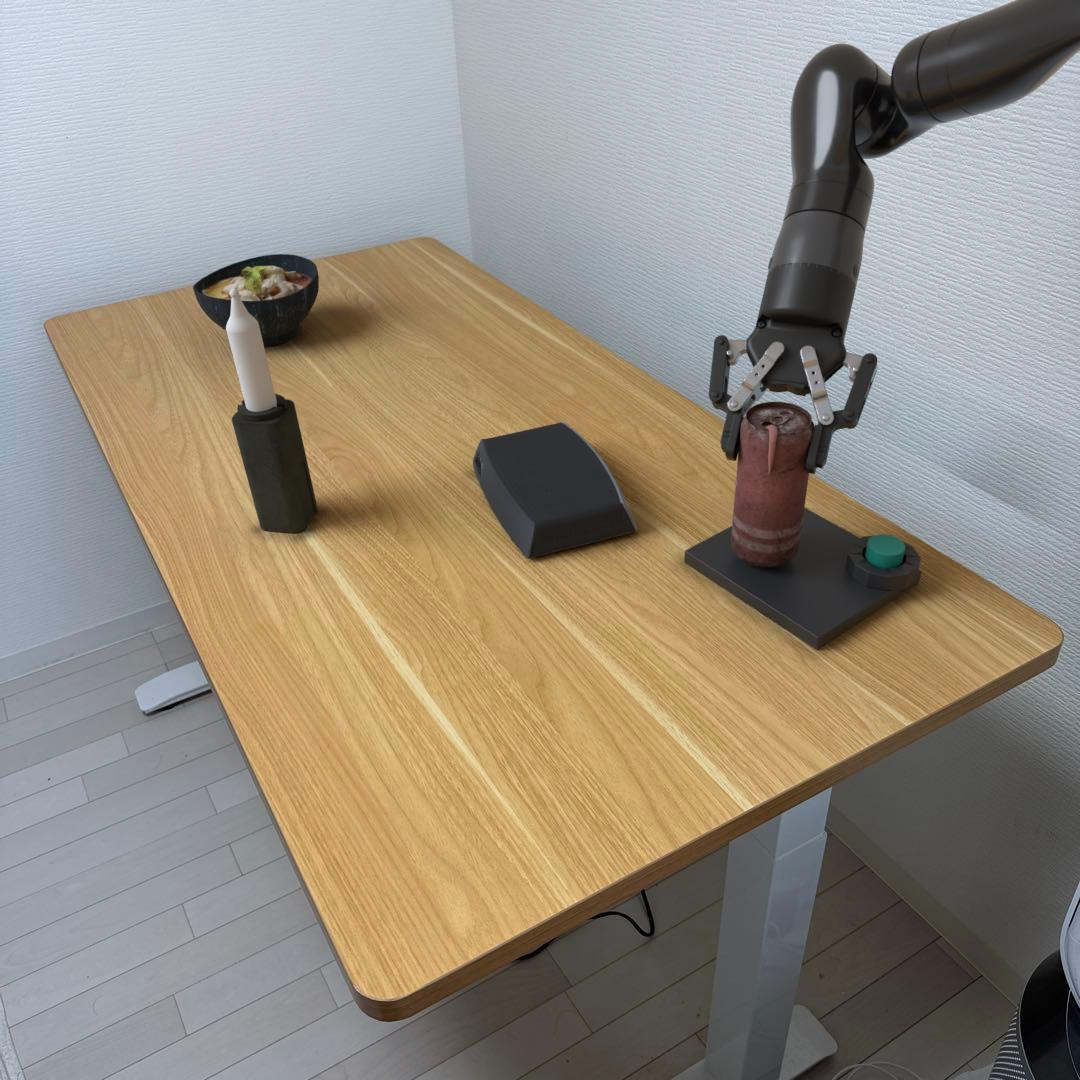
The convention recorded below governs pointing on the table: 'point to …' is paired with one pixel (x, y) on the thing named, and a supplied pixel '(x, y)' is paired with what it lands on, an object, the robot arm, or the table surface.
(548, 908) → the table surface
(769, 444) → the can
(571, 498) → the hard drive
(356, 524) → the table surface
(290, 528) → the candle
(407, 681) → the table surface
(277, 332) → the bowl
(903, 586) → the scale
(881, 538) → the button
